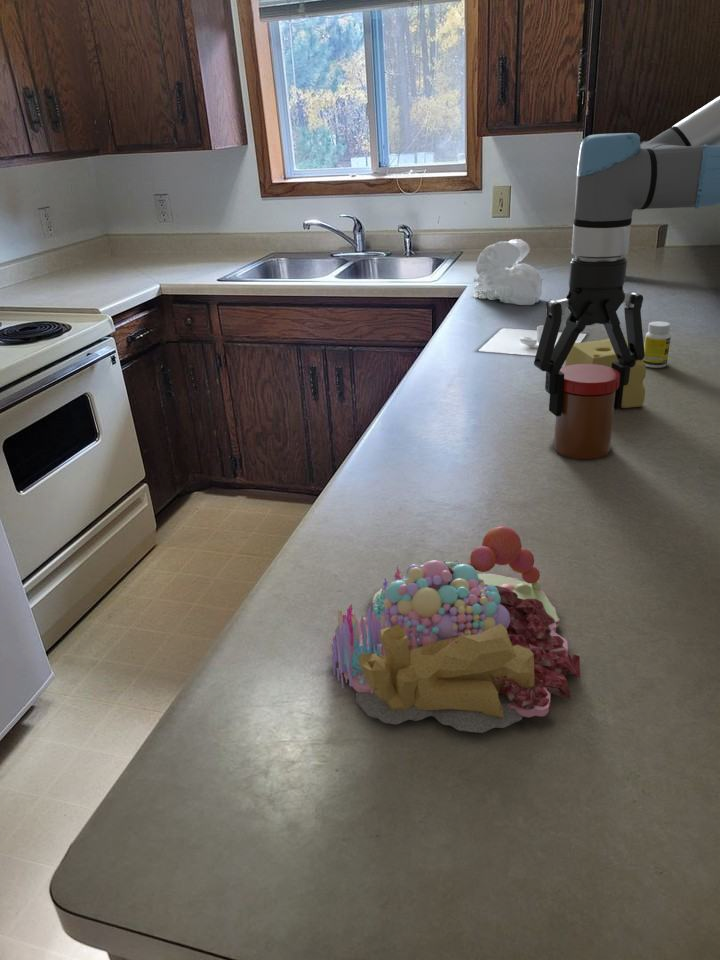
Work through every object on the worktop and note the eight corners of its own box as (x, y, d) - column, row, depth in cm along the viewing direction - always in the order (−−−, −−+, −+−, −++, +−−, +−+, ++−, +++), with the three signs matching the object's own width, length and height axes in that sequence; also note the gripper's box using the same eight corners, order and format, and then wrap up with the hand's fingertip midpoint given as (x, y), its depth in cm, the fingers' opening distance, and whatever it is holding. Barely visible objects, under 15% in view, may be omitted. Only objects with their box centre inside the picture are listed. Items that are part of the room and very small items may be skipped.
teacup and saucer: (517, 348, 164) (518, 330, 162) (526, 338, 170) (527, 321, 168) (557, 351, 160) (558, 332, 158) (564, 341, 167) (566, 323, 165)
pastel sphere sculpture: (613, 728, 63) (625, 642, 59) (339, 755, 62) (332, 669, 58) (529, 568, 85) (534, 498, 81) (327, 586, 84) (321, 516, 80)
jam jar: (607, 438, 118) (614, 368, 112) (612, 460, 110) (620, 386, 105) (552, 436, 119) (557, 367, 114) (554, 458, 112) (559, 385, 107)
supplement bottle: (667, 369, 146) (672, 327, 143) (641, 367, 148) (646, 326, 144) (666, 361, 150) (672, 321, 147) (641, 360, 152) (646, 320, 148)
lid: (589, 371, 116) (591, 360, 115) (632, 387, 108) (634, 375, 107) (543, 382, 112) (543, 370, 111) (583, 399, 105) (585, 387, 104)
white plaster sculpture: (554, 274, 189) (492, 230, 192) (509, 337, 200) (451, 294, 203) (568, 264, 205) (510, 224, 207) (526, 323, 216) (471, 284, 218)
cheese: (644, 407, 129) (651, 351, 124) (585, 413, 127) (590, 357, 123) (615, 388, 138) (621, 335, 133) (561, 394, 137) (565, 341, 132)
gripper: (655, 246, 107) (637, 393, 117) (514, 258, 104) (507, 409, 114) (686, 254, 100) (664, 409, 110) (535, 267, 97) (527, 426, 107)
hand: (584, 409), depth 112 cm, fingers closed on lid, 9 cm apart
